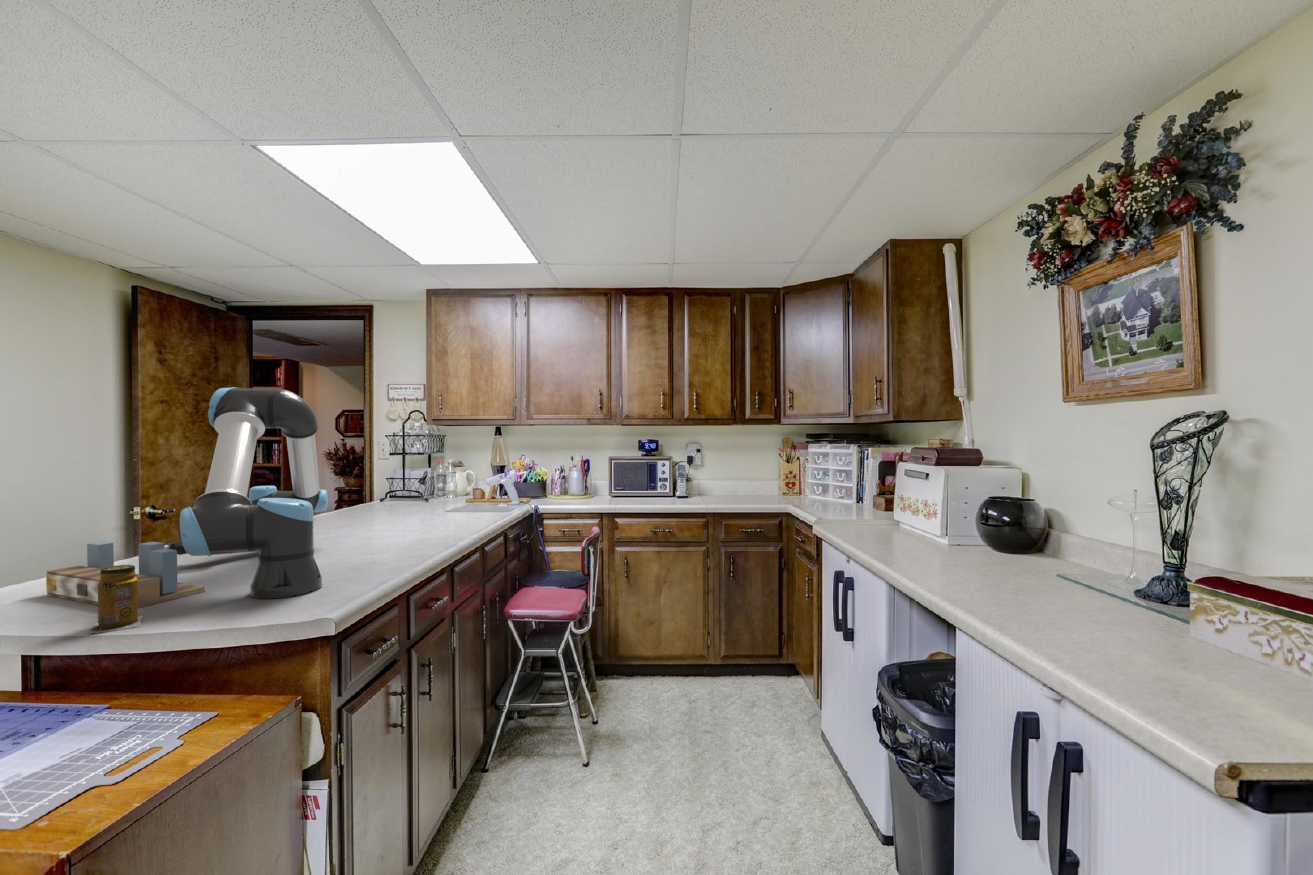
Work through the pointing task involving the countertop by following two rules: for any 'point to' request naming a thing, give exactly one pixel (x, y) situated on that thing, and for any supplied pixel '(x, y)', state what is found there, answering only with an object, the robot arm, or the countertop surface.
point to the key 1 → (100, 555)
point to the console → (85, 580)
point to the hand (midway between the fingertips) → (140, 554)
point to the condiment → (117, 599)
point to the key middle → (147, 555)
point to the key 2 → (164, 569)
